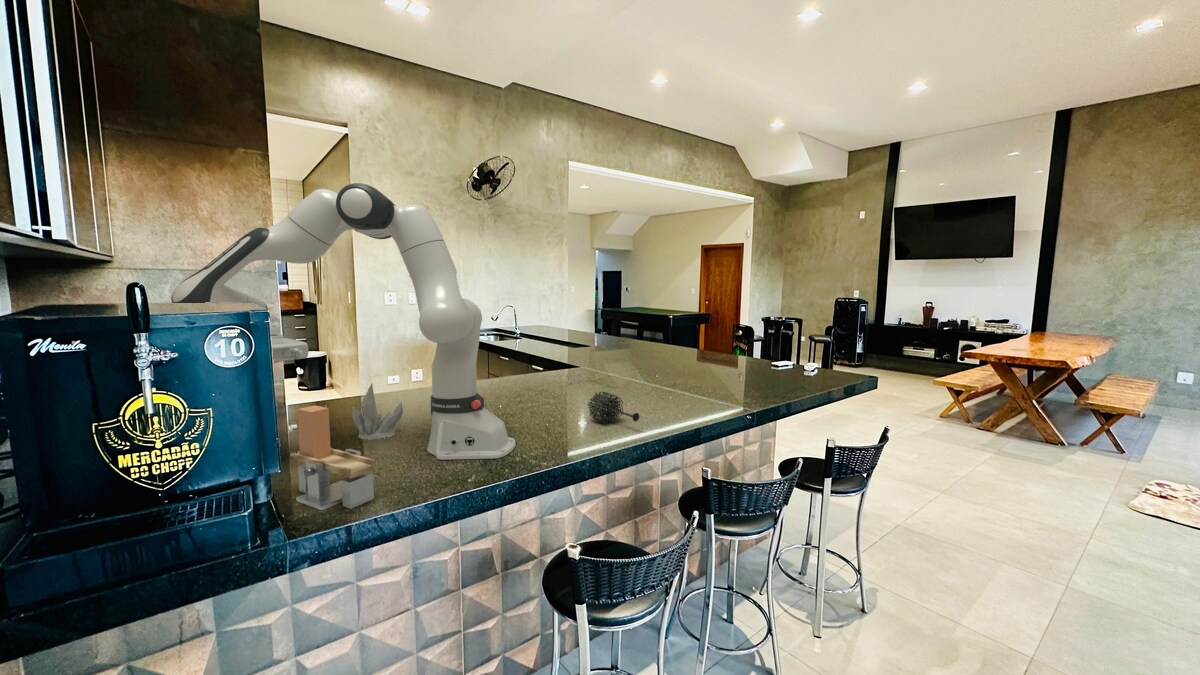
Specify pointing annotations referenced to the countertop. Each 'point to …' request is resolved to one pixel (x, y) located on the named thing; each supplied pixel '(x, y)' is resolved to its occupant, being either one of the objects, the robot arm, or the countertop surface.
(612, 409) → the massage brush
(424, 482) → the countertop surface
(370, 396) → the crystal
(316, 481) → the fulcrum
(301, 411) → the block
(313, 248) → the robot arm
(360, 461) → the beam
